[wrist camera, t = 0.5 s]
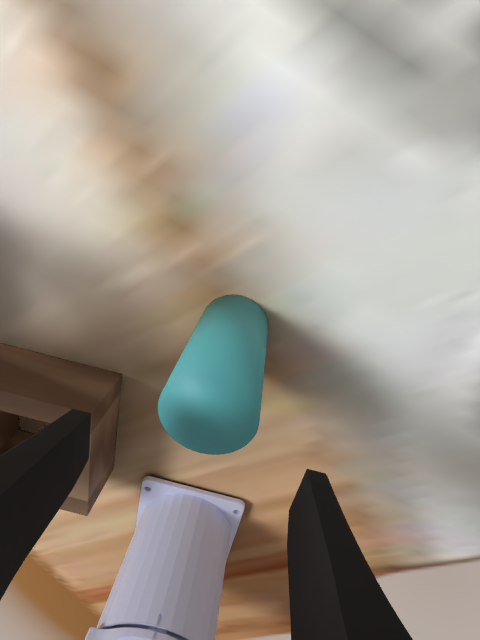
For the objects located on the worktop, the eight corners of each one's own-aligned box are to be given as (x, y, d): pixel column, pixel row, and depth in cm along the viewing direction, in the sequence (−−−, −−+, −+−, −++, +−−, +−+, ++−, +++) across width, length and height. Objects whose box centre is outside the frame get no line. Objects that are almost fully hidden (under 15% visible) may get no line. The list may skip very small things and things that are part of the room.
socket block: (113, 468, 27) (87, 516, 24) (1, 439, 27) (-42, 482, 24) (121, 374, 23) (92, 414, 20) (-9, 340, 23) (-63, 374, 20)
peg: (259, 362, 22) (246, 464, 14) (196, 346, 22) (152, 440, 15) (276, 304, 20) (271, 387, 13) (207, 287, 20) (164, 360, 13)
